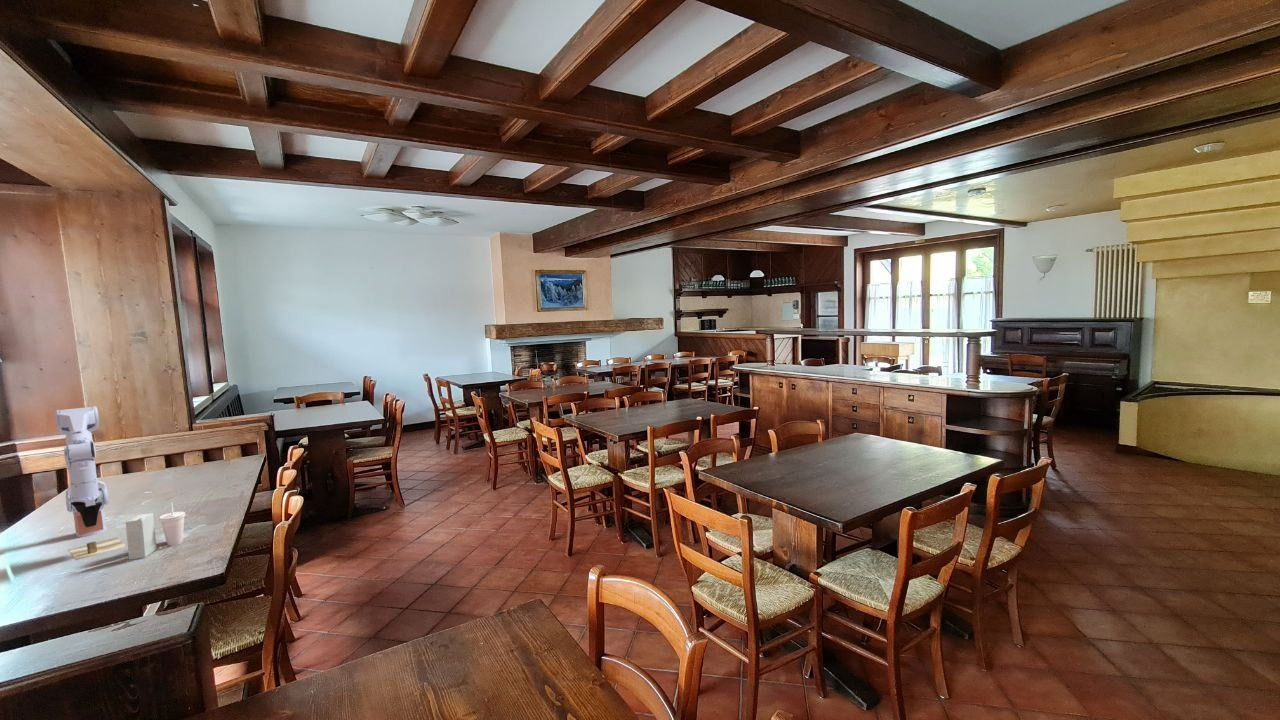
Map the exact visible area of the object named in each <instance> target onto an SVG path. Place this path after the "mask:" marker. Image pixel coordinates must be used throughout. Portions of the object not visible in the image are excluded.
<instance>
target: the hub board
mask: <svg viewBox="0 0 1280 720" xmlns="http://www.w3.org/2000/svg"><path fill="white" fill-rule="evenodd" d="M122 548H127V545H126V544H124V543H123V542H122V541H121V540H120V539H119V538H118V537H114V538H109V539H105V540H101V541H98V542H97V541H91V542H88V543H86V544H85V545H82V546H78V547H74V548H71V549H68V551H69V552H70V554H71V556H73V558H74V560H75V561H78V560H82V559H85V558H88V557H92V556H97V555H100V554H104V553H108V552H111V551H115V550H118V549H122Z"/></svg>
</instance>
